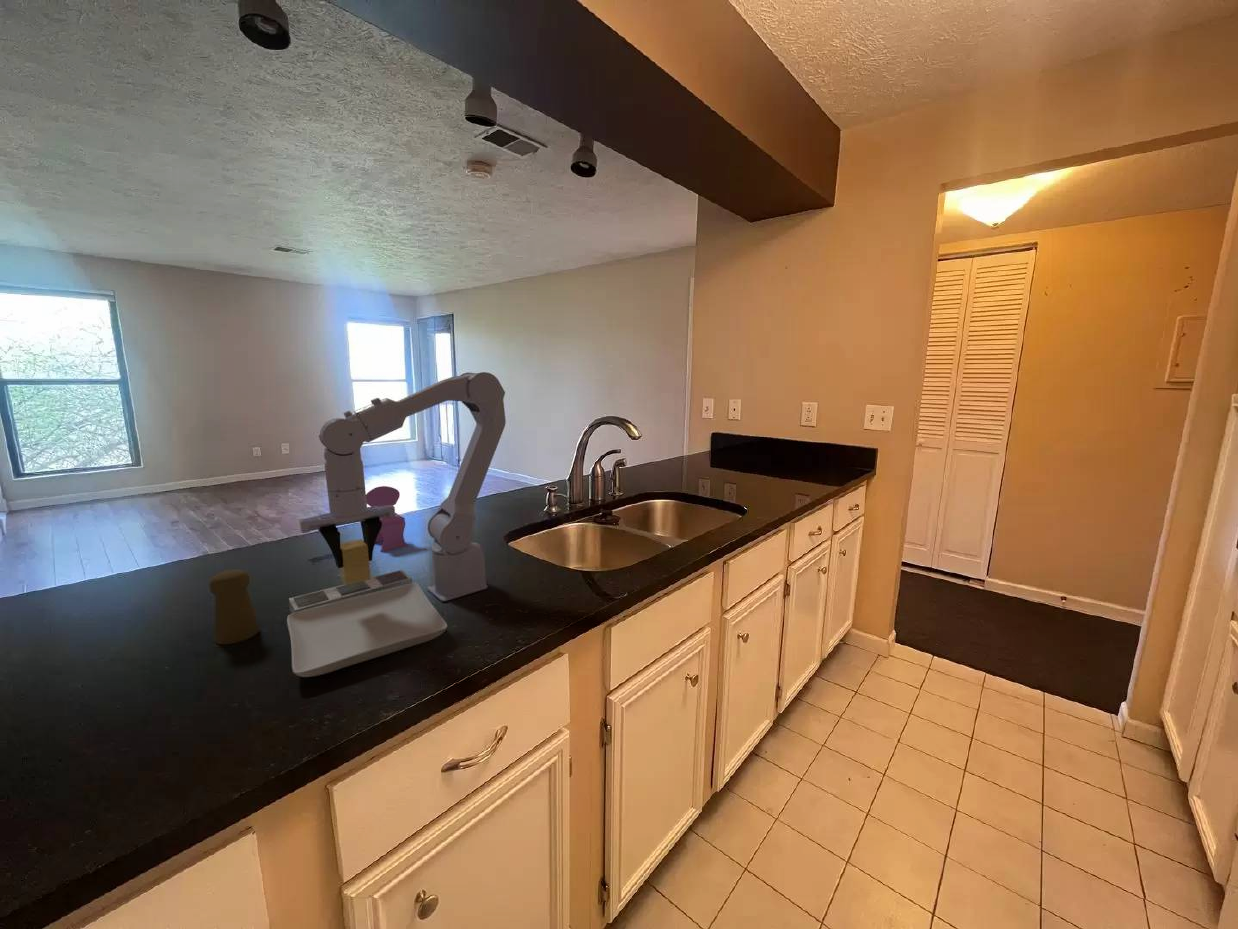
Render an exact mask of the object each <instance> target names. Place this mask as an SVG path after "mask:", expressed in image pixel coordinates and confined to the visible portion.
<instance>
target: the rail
mask: <svg viewBox="0 0 1238 929" xmlns="http://www.w3.org/2000/svg"><path fill="white" fill-rule="evenodd" d="M370 577H371V580H367V581H363V582H359V583H355V584H351V585H347V586H346V585H345V584H344V583H343V584H341V585H338V586H333V587H329V588H324V589H321V590H317V591H313V592H309V593H305V594H301V595H297V596H294V597H290V598H288V603H289V610H290V614H292V613H295V612H299V611H303V610H307V609H311V608H315V607H319V606H323V605H327V604H331V603H334V602H338V601H342V600H346V599H350V598H354V597H358V596H362V595H366V594H370V593H374V592H378V591H383V590H387V589H391V588H395V587H399V586H403V585H407V584H412V583H413V578H412V577H411V576H410V575H409V574H408V573H407V572H405V571H404V570H403V569H400V570H396V571H392V572H388V573H383V574H379V575H376V576H370Z"/></svg>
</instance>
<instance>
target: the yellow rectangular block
mask: <svg viewBox="0 0 1238 929" xmlns="http://www.w3.org/2000/svg"><path fill="white" fill-rule="evenodd" d="M340 547H341V554H342V560H343V567H341V568H338V569H339V570H338V571H339V578H340V580H341V581H342V583H343V585H344V584H345V585H346V586H347V585H351V584H355V583H359V582H363V581H367V580H371V577H372V576H371V569H370V561H369V556H368V546H367V544H366V543H365V542H364V540H363V538H360V539H355V540H350V541H346V542H340Z"/></svg>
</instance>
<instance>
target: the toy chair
mask: <svg viewBox="0 0 1238 929" xmlns="http://www.w3.org/2000/svg"><path fill="white" fill-rule="evenodd" d="M399 499H400V491H399V490H398V489H396V488H394V487H392V486H387V485H382V486H376V487H374V488H372V489H371V490H369V491H368V492H366V501H367V506H368V507H374V506H385V505H393V506H396V504H397V502H398V501H399ZM405 519H406V518H405V517H404V516H401V515H400V514H399V513H396V512H395V517H385V518H380V521H382V528H381V530H380V531H379V534H378V536H377V539H376V541H375V544H377V543H376V542H379V543H381V542H380V541H383V542H382V547H381V549H380V553H384V552H387V550H388V551H392V550H396V549H397V550H398V549H401V547H402V548H406V547H408V545H407V543H406V541H405V536H404V533H405V532H404V531H405V527H406V520H405ZM405 546H406V547H405Z"/></svg>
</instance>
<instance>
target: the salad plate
mask: <svg viewBox="0 0 1238 929" xmlns="http://www.w3.org/2000/svg"><path fill="white" fill-rule="evenodd" d="M286 625H287V628H288V633H289V638H290V647H291V648H290V649H291V650H290V651H291V669H292V670H291V671H292V672H293V674H295V676H298V677H302V678H310V677H317V676H321V675H326V674H328V673H333V672H334V671H335V672H336V671H338V670H341V669H344V668H346V667H350V666H354V665H356V664H360V663H363V662H365V661H366V662H367V661H369V660H370V661H371V660H374V659H377V658H379V657H383V656H385V655H389V654H391V653H394V652H399V651H401V650H405V649H406V648H407V649H408V648H410V647H413V646H417V645H419V644H423V643H426V642H429V641H432V640H434V639H435V638H437V637H439V636H441V635H442V634H444V632H445V631H447V628H448V623H447V621H446V620H445V619H444V618H443V616H442V615H441V614H440V612H438V610H437V609H436V608H435V606H434V605H433V604H432V602H431V601H430V600H429V598H428V597H427V596H426V594H425V592H424V591H423V589H422V587H421V586H420V585H419V584H418V583H416V582H412V584H407V585H403V586H399V587H395V588H391V589H387V590H383V591H378V592H374V593H370V594H366V595H362V596H358V597H354V598H350V599H346V600H342V601H338V602H334V603H331V604H327V605H323V606H319V607H315V608H311V609H307V610H303V611H299V612H295V613H290V614H288V615H287V617H286Z"/></svg>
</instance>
